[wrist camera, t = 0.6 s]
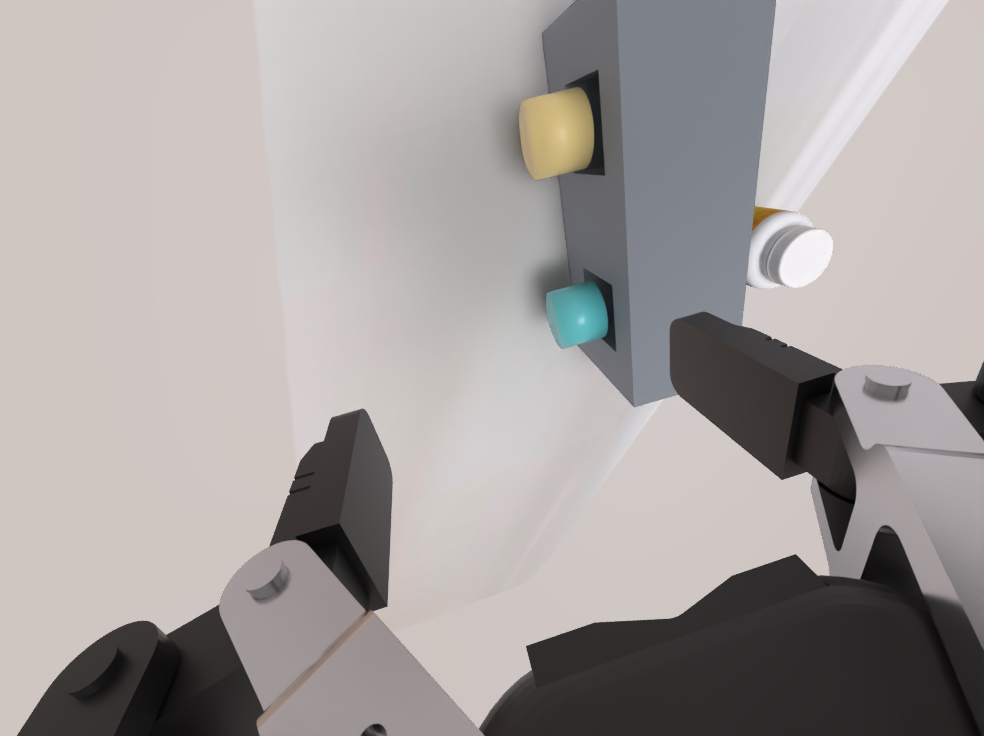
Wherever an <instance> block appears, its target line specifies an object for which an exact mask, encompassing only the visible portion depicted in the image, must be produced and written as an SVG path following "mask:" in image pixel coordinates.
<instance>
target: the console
mask: <svg viewBox="0 0 984 736" xmlns="http://www.w3.org/2000/svg"><path fill="white" fill-rule="evenodd" d="M775 6H776V0H576V1H575V2H574V3H573V4H572V5H571V6H570V7H569V8H568V9H567V10H566V11H565V12H564V13H563V14H562V15H561V16H560V17H559V18H558V19H556V20H555V21H554V22H553V23H552V24H551V25H550V26H549V27H548V28H547V29H546V30H545V31H544V32H543V33H542V39H543V47H544V56H545V64H546V73H547V82H548V90H549V94H550V93H554V92H558V91H562V90H566V89H571V88H575V87H580V88H581V89H582V90H583V91H584V92H585V94H586V96H587V98H588V100H589V103H590V107H591V111H592V116H593V123H594V148H593V154H592V158H591V161H590V163H589V165H588V166H587V167H586V168H585V169H581V170H577V171H573V172H569V173H565V174H561V175H558V176H559V185H560V194H561V202H562V211H563V220H564V228H565V237H566V245H567V254H568V263H569V271H570V280H571V286H572V285H576V284H580V283H584V282H587V281H592V282H594V283H595V284H596V285H597V287H598V288H599V290H600V292H601V294H602V296H603V299H604V302H605V306H606V310H607V316H608V330H607V334H606V336H605V337H603V338H600V339H596V340H592V341H589V342H585V343H581V344H578V346H579V347H580V348H581V350H582V351H583V352H584V353H585V354H586V355H587V356H588V357H589V358H590V359H591V361H592V362H593V363H594V364H595V365H596V366H597V367H598V368H599V369H600V370H601V372H602V373H603V374H604V375H605V376H606V377H607V378H608V379H609V380H610V381H611V383H612V384H613V385H614V386H615V387H616V388H617V389H618V390H619V391H620V392H621V394H622V395H623V396H624V397H625V398H626V399H627V400H628V401H629V402H630V403H631V405H632V406H633V407H637V406H640V405H644V404H647V403H651V402H654V401H658V400H661V399H665V398H668V397H671V396H675V395H678V393H677V392H676V391H675V389H674V387H673V385H672V382H671V378H670V325H671V323H672V321H673V320H675V319H678V318H682V317H685V316H689V315H692V314H696V313H699V312H708V313H710V314H712V315H714V316H717V317H719V318H721V319H723V320H725V321H727V322H729V323H732V324H734V325H738V326H742V319H743V310H744V300H745V291H746V281H747V272H748V262H749V253H750V243H751V234H752V224H753V215H754V205H755V196H756V186H757V177H758V168H759V158H760V149H761V139H762V130H763V120H764V111H765V101H766V92H767V82H768V73H769V63H770V54H771V44H772V35H773V25H774V16H775Z"/></svg>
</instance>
